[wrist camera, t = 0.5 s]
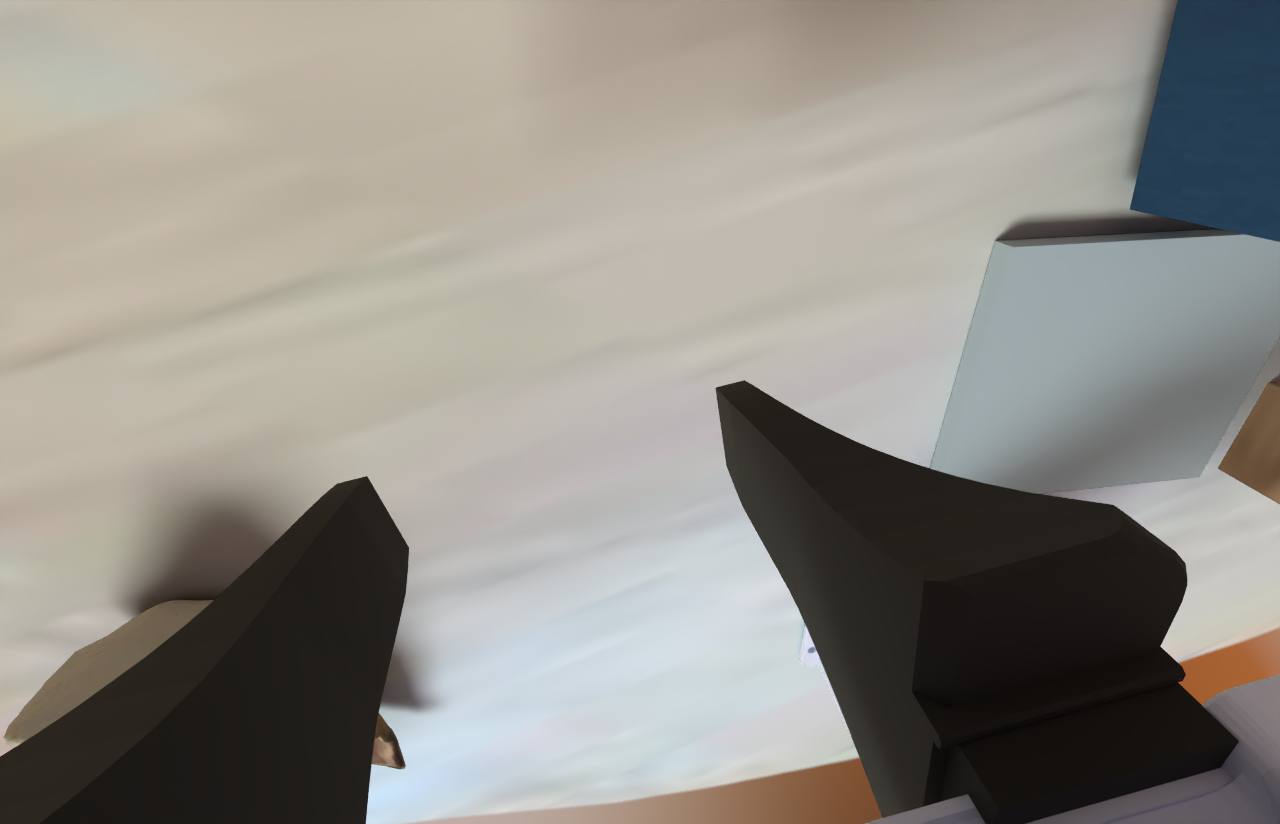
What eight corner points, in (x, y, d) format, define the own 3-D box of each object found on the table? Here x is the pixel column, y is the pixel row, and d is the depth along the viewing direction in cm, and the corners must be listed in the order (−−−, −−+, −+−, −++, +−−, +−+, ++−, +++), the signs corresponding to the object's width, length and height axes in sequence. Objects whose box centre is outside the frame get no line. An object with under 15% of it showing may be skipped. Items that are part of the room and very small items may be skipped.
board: (1180, 465, 29) (1199, 477, 29) (923, 491, 28) (935, 504, 27) (1312, 223, 23) (1341, 229, 23) (995, 240, 22) (1013, 247, 21)
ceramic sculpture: (131, 742, 17) (392, 902, 25) (255, 528, 24) (426, 708, 32) (-204, 843, 17) (165, 966, 25) (18, 601, 24) (249, 761, 33)
